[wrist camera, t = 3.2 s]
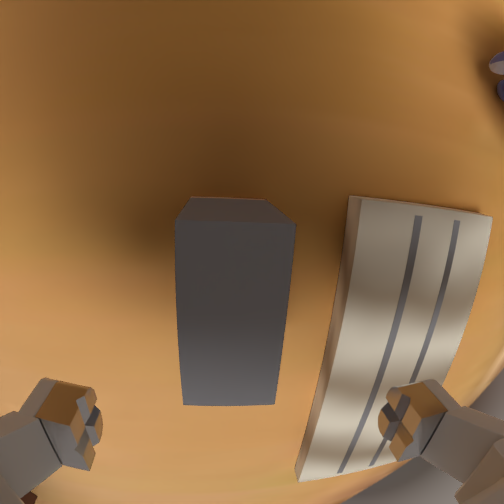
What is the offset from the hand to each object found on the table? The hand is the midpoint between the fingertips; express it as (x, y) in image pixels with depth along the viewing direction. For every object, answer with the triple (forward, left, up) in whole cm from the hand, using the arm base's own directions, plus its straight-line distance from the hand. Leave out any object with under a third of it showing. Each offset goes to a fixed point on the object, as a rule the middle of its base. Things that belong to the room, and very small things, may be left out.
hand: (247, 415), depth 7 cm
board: (+6, +11, -9) cm, 15 cm away
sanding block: (-1, 0, -9) cm, 9 cm away
